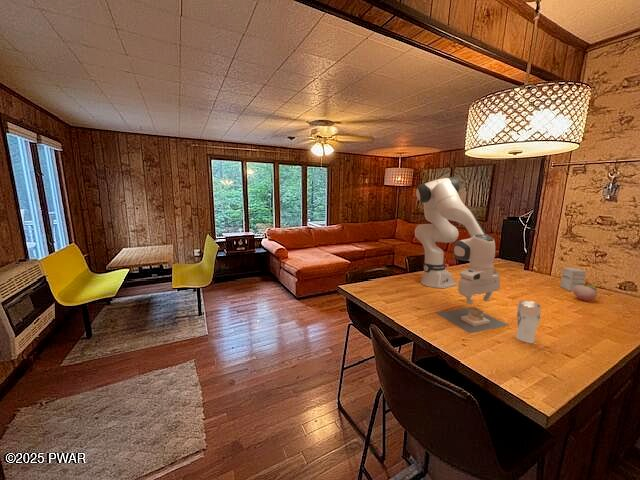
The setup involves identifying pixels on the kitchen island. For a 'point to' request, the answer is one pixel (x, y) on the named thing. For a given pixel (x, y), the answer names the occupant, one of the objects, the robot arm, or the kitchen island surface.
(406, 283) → the kitchen island surface
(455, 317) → the mat
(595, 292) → the decorative fruit
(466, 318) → the tile
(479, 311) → the beech cube
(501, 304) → the kitchen island surface
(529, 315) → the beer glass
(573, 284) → the supplement box
